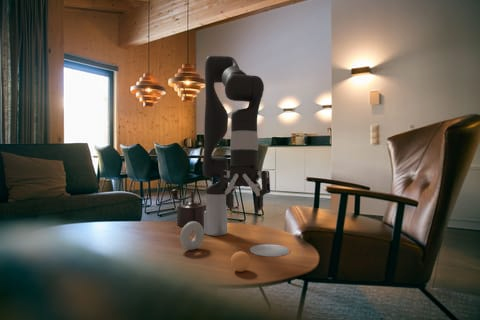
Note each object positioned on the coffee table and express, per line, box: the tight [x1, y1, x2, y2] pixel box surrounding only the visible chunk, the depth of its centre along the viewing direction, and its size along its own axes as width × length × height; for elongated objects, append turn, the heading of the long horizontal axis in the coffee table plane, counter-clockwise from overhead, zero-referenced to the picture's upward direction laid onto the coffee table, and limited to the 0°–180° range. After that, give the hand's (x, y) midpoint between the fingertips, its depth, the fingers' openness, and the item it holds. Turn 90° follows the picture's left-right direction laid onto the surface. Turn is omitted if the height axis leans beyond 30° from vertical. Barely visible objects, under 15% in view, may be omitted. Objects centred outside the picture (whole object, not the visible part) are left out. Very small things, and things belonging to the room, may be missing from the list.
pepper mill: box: [169, 188, 206, 228], centre depth 148 cm, size 16×11×18 cm
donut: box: [179, 221, 205, 251], centre depth 108 cm, size 10×4×10 cm, turn 139°
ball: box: [230, 250, 251, 273], centre depth 88 cm, size 6×6×6 cm
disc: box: [249, 243, 291, 257], centre depth 108 cm, size 14×14×1 cm
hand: (244, 209), depth 83 cm, fingers open, 8 cm apart
